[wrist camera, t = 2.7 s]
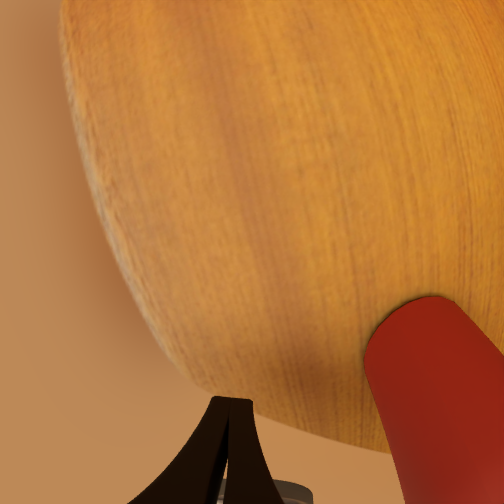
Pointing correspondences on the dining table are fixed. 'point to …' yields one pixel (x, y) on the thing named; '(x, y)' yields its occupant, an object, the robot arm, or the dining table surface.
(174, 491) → the robot arm
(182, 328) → the dining table surface
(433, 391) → the beer can
